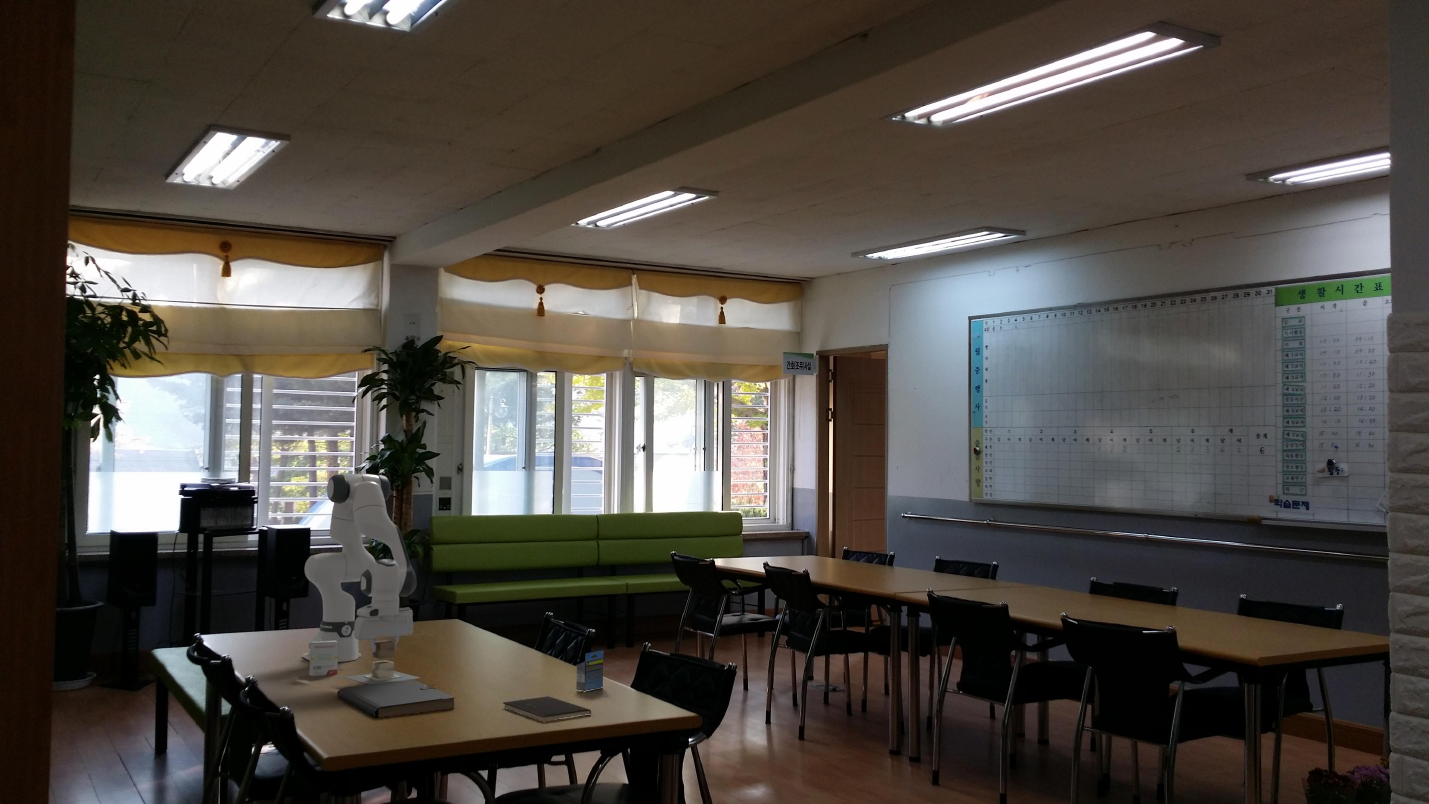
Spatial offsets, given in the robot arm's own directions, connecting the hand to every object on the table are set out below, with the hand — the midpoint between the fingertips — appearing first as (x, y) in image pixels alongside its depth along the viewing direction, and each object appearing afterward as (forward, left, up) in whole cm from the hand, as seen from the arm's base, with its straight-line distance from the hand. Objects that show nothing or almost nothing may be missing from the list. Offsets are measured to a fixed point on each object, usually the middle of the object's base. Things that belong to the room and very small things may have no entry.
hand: (383, 651), depth 359 cm
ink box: (-19, -11, -10) cm, 24 cm away
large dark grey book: (+34, -16, -10) cm, 39 cm away
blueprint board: (0, 0, -10) cm, 10 cm away
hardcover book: (+74, +10, -10) cm, 75 cm away
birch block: (0, 0, -9) cm, 9 cm away
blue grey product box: (+58, +40, -10) cm, 71 cm away
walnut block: (0, 0, -2) cm, 2 cm away
